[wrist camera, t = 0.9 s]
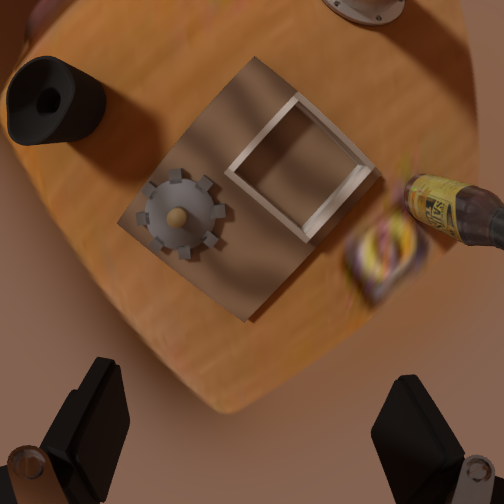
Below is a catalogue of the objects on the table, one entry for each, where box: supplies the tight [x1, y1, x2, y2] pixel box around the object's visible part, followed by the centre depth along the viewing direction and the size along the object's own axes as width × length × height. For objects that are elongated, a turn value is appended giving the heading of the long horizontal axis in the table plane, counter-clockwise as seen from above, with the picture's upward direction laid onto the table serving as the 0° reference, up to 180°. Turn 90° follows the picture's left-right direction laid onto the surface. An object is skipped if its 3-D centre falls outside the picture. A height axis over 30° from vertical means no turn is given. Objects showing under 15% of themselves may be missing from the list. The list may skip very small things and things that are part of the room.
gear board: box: [117, 56, 382, 322], centre depth 35 cm, size 25×20×5 cm
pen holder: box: [6, 56, 106, 146], centre depth 28 cm, size 9×9×10 cm
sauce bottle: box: [404, 174, 504, 250], centre depth 28 cm, size 6×6×20 cm
